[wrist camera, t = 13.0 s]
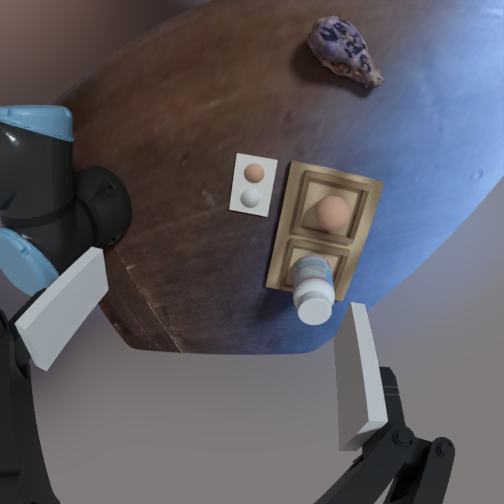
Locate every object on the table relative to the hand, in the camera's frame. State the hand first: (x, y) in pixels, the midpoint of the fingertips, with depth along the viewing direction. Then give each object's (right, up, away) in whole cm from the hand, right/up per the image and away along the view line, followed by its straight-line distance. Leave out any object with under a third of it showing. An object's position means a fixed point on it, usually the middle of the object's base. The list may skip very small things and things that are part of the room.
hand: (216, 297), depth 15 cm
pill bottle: (+12, 0, +34) cm, 36 cm away
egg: (+13, +9, +28) cm, 32 cm away
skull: (+15, +29, +18) cm, 38 cm away
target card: (+2, +12, +30) cm, 32 cm away
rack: (+13, +5, +32) cm, 35 cm away
